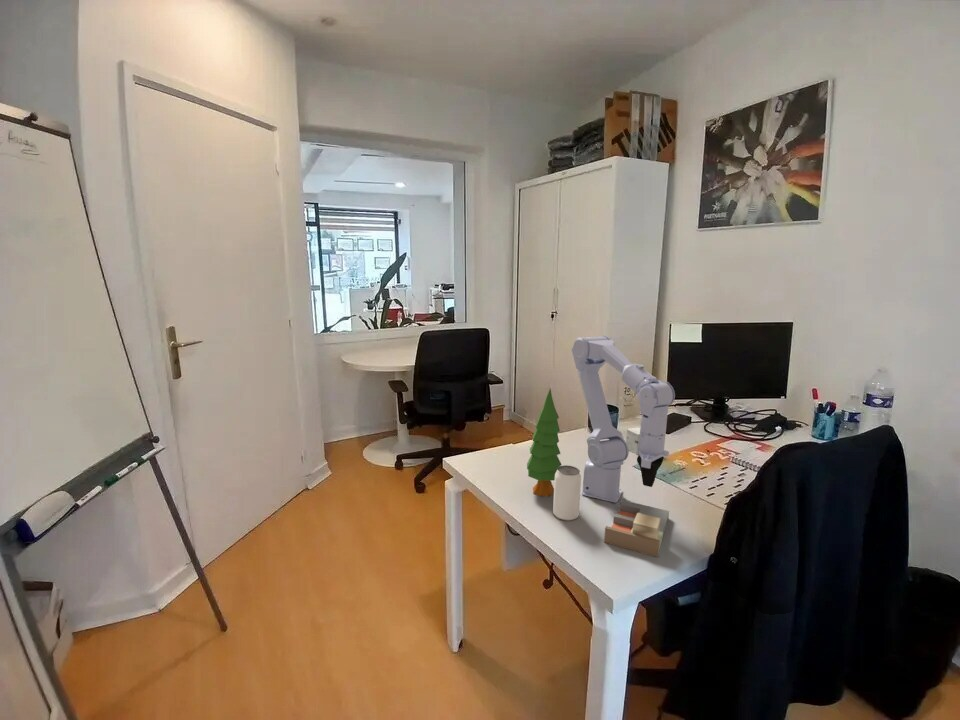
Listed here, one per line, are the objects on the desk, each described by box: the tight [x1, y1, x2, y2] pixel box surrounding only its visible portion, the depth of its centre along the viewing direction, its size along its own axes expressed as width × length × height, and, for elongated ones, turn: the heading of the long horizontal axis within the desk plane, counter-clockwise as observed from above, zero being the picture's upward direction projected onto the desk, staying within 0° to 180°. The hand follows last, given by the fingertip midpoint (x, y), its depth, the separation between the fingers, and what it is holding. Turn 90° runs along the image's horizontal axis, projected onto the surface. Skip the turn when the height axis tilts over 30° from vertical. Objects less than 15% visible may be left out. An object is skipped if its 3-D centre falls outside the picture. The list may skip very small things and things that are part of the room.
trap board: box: [603, 499, 670, 558], centre depth 112 cm, size 12×18×4 cm, turn 152°
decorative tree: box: [526, 387, 563, 497], centre depth 128 cm, size 10×9×30 cm
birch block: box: [632, 513, 660, 539], centre depth 105 cm, size 5×5×4 cm
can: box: [552, 464, 582, 522], centre depth 118 cm, size 6×6×12 cm
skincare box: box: [625, 426, 641, 456], centre depth 161 cm, size 6×6×7 cm
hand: (648, 485), depth 115 cm, fingers closed
